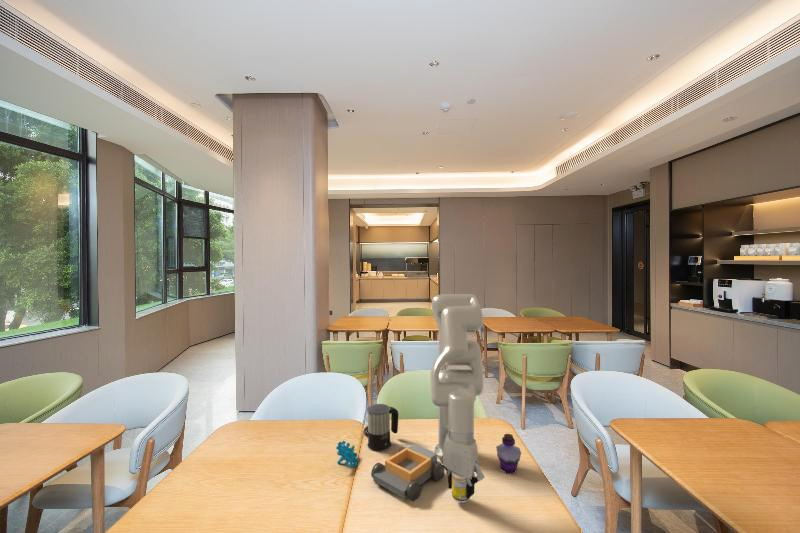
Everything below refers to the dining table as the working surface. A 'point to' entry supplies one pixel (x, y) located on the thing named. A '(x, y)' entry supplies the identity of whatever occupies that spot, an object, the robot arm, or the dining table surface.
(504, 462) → the potion bottle
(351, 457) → the gear
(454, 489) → the supplement bottle
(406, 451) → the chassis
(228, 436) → the dining table surface
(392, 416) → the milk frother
